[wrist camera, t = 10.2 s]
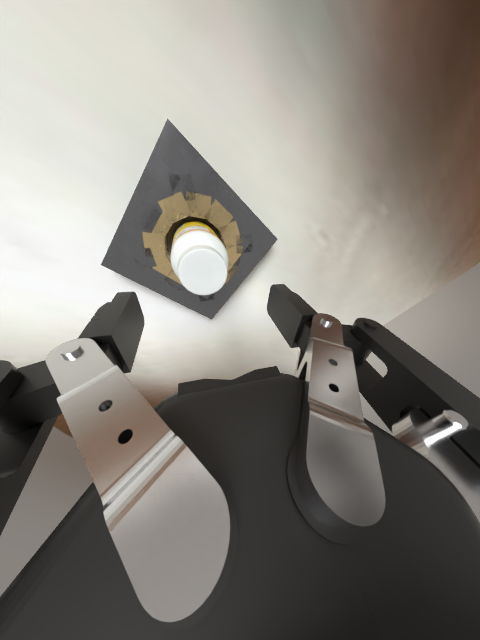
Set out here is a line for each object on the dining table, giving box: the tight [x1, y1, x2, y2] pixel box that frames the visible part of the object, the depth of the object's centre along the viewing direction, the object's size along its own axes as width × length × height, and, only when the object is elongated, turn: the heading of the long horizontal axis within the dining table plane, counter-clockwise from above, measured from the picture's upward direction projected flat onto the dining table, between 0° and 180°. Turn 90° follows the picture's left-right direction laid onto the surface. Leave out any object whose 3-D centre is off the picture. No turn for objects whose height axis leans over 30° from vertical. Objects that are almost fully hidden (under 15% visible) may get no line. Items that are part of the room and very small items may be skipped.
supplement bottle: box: [171, 220, 228, 295], centre depth 18 cm, size 5×5×10 cm
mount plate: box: [101, 119, 277, 319], centre depth 20 cm, size 14×14×2 cm
